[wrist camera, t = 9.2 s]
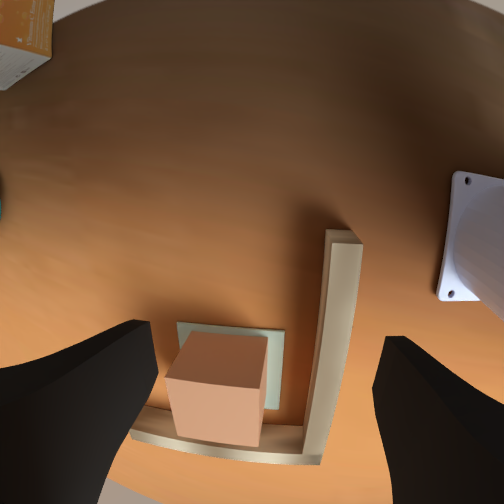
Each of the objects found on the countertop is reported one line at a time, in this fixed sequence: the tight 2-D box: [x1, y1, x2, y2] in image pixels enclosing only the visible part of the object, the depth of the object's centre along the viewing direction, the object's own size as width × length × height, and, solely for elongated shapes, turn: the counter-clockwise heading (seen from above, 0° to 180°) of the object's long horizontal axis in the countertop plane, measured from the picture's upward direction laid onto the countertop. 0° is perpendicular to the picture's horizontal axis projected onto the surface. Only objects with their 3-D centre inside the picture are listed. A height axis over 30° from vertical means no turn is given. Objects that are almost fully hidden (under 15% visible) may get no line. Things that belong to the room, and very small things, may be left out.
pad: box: [177, 322, 285, 410], centre depth 20 cm, size 7×7×1 cm
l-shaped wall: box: [129, 229, 363, 465], centre depth 19 cm, size 15×17×3 cm
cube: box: [164, 331, 268, 447], centre depth 18 cm, size 5×5×5 cm
